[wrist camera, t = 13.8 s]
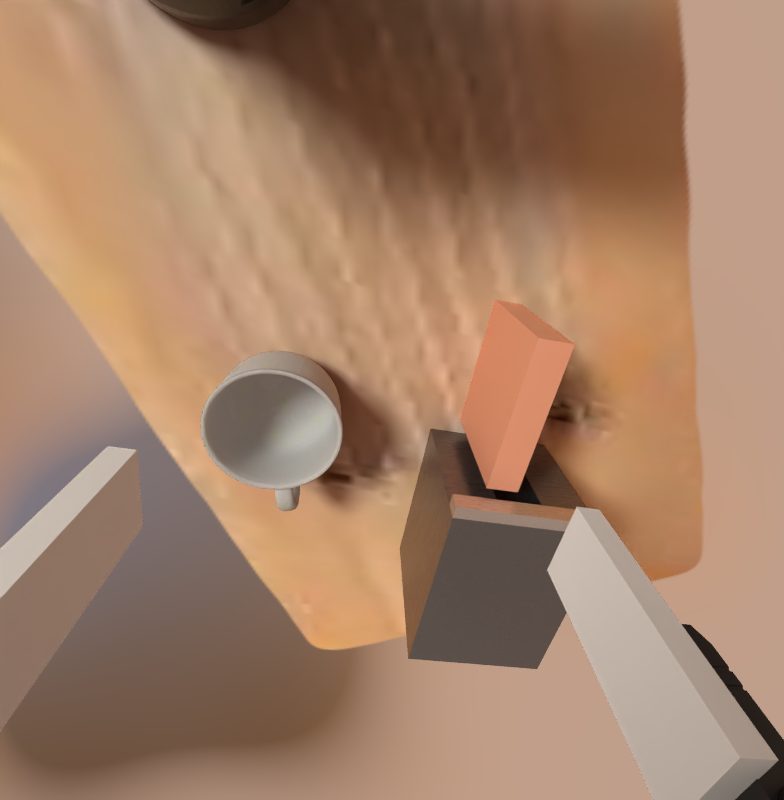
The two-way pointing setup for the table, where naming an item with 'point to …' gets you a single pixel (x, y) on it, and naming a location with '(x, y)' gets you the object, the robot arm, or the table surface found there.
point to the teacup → (274, 424)
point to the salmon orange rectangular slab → (512, 392)
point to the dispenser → (482, 558)
